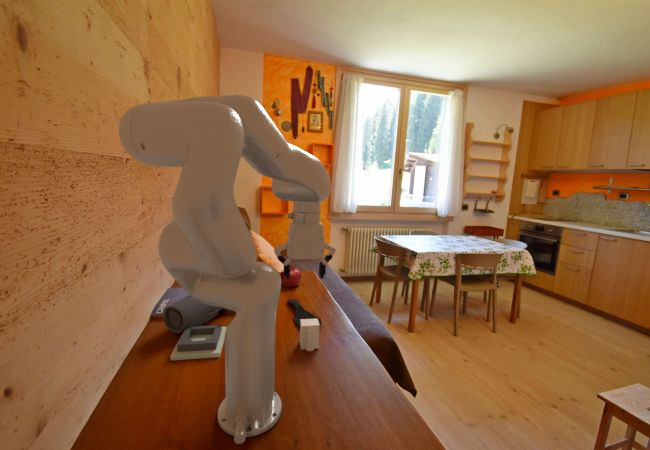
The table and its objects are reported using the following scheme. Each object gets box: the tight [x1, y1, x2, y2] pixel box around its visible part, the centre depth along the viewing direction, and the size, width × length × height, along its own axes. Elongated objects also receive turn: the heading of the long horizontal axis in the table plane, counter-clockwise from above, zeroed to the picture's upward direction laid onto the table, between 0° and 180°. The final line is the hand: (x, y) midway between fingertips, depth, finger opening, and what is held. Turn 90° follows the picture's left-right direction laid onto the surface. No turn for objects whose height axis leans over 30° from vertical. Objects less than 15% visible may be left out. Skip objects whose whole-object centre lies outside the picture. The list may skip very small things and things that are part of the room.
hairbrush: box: [287, 298, 322, 327], centre depth 105 cm, size 8×4×25 cm
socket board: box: [169, 324, 228, 361], centre depth 84 cm, size 14×12×3 cm
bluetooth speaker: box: [162, 294, 224, 334], centre depth 97 cm, size 23×9×10 cm, turn 159°
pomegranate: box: [279, 263, 302, 288], centre depth 133 cm, size 10×10×9 cm
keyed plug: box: [299, 319, 321, 352], centre depth 85 cm, size 5×5×7 cm
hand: (304, 277), depth 85 cm, fingers open, 9 cm apart
